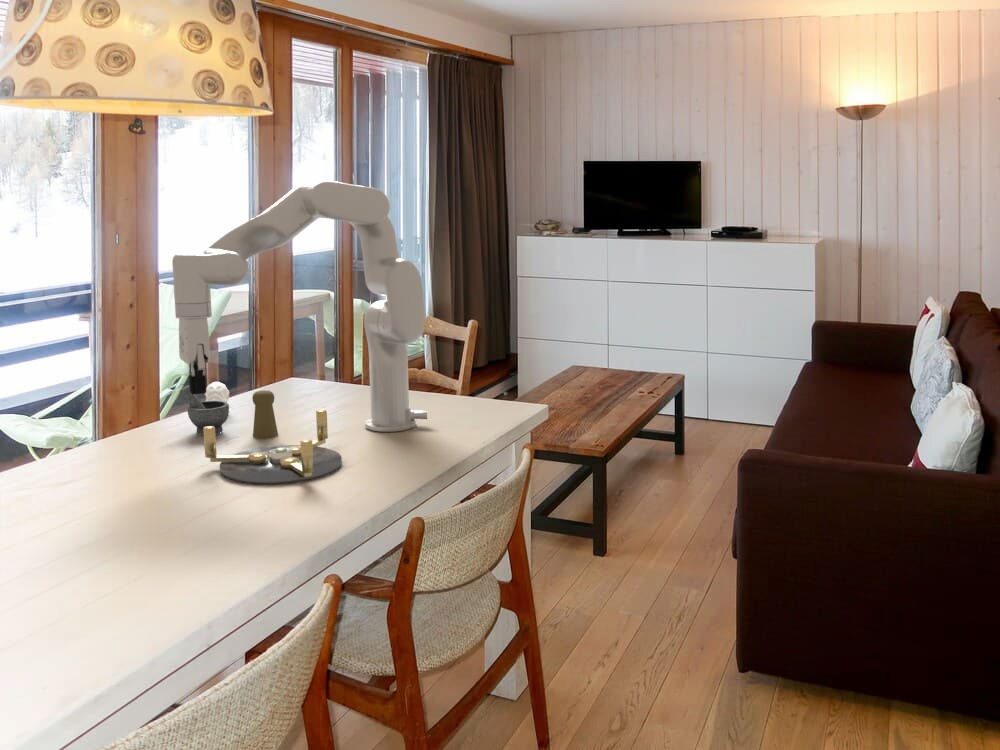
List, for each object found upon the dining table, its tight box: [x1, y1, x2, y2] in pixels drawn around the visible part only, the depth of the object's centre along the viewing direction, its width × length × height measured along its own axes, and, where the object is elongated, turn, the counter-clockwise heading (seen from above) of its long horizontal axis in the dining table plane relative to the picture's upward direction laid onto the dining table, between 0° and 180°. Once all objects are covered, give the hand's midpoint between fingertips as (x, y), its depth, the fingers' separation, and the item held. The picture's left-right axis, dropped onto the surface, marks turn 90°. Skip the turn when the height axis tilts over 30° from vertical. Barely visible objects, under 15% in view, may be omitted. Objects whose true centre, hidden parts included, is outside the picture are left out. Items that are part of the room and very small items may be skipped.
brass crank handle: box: [280, 439, 314, 477], centre depth 213 cm, size 13×4×8 cm, turn 33°
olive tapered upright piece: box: [251, 389, 279, 439], centre depth 247 cm, size 6×6×11 cm
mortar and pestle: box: [179, 385, 230, 436], centre depth 250 cm, size 11×9×12 cm
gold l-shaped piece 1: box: [203, 426, 267, 463], centre depth 221 cm, size 13×4×8 cm, turn 93°
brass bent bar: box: [289, 409, 329, 457], centre depth 230 cm, size 13×4×8 cm, turn 153°
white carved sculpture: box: [204, 381, 230, 403], centre depth 266 cm, size 6×8×12 cm
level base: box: [219, 444, 343, 486], centre depth 222 cm, size 26×26×4 cm
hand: (198, 393), depth 224 cm, fingers closed
